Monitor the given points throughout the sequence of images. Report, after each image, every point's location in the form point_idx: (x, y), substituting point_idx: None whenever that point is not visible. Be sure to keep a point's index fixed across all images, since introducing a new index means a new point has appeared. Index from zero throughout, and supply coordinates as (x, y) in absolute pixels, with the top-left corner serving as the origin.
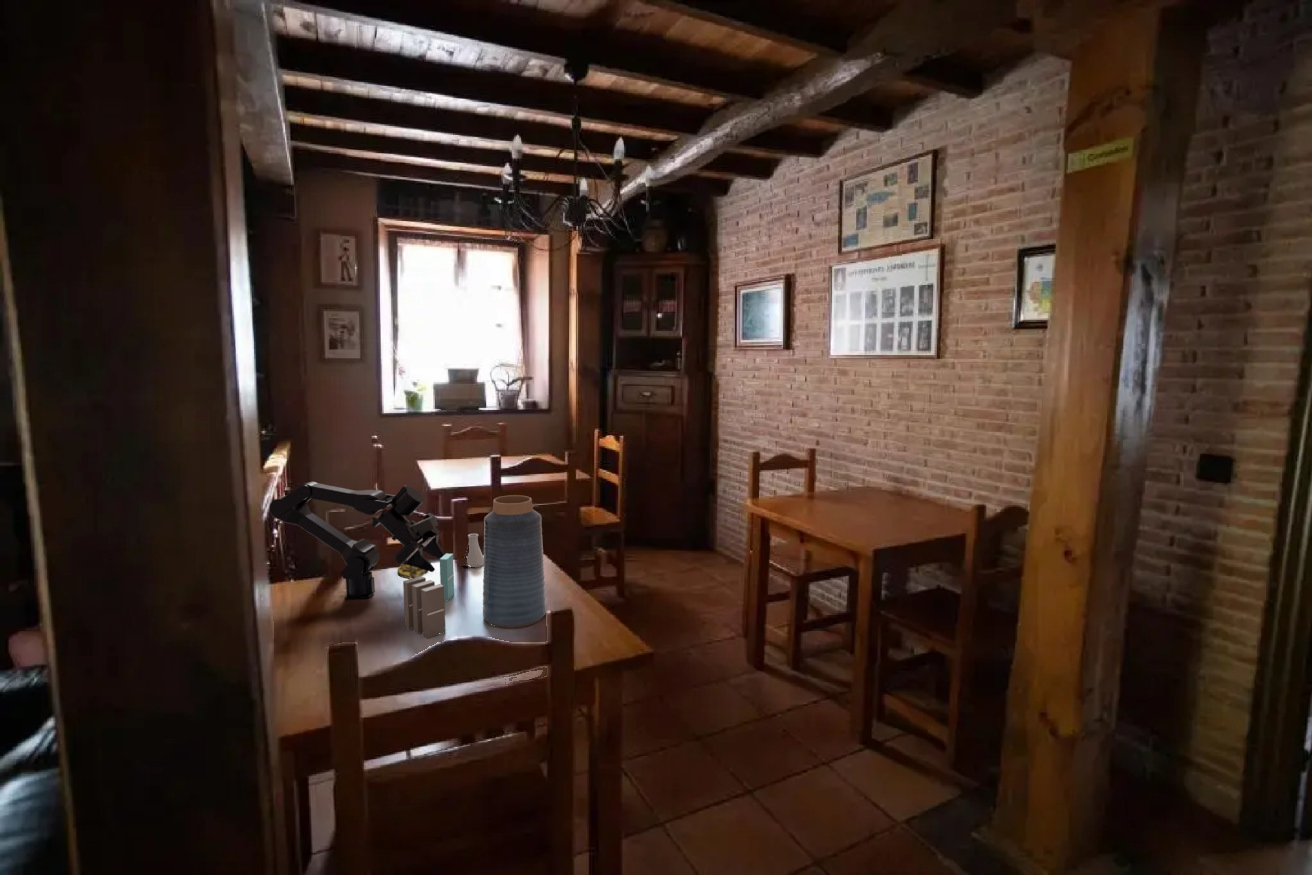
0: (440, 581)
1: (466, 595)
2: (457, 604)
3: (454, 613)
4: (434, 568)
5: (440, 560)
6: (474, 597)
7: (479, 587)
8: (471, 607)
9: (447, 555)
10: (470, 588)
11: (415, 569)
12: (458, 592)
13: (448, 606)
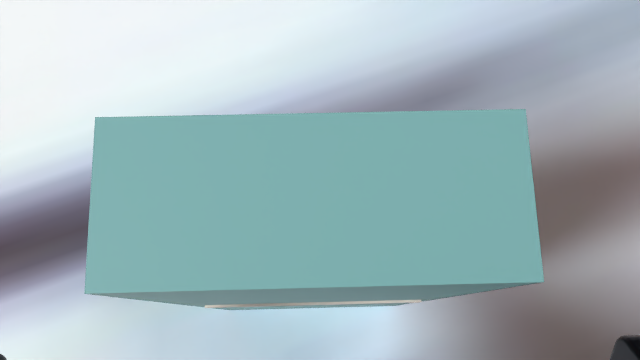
0: (431, 299)
1: None
2: None
3: (636, 92)
4: (634, 344)
5: (528, 266)
6: (292, 48)
7: (57, 79)
8: (500, 6)
9: (240, 199)
10: (82, 148)
11: None
12: None
13: None
